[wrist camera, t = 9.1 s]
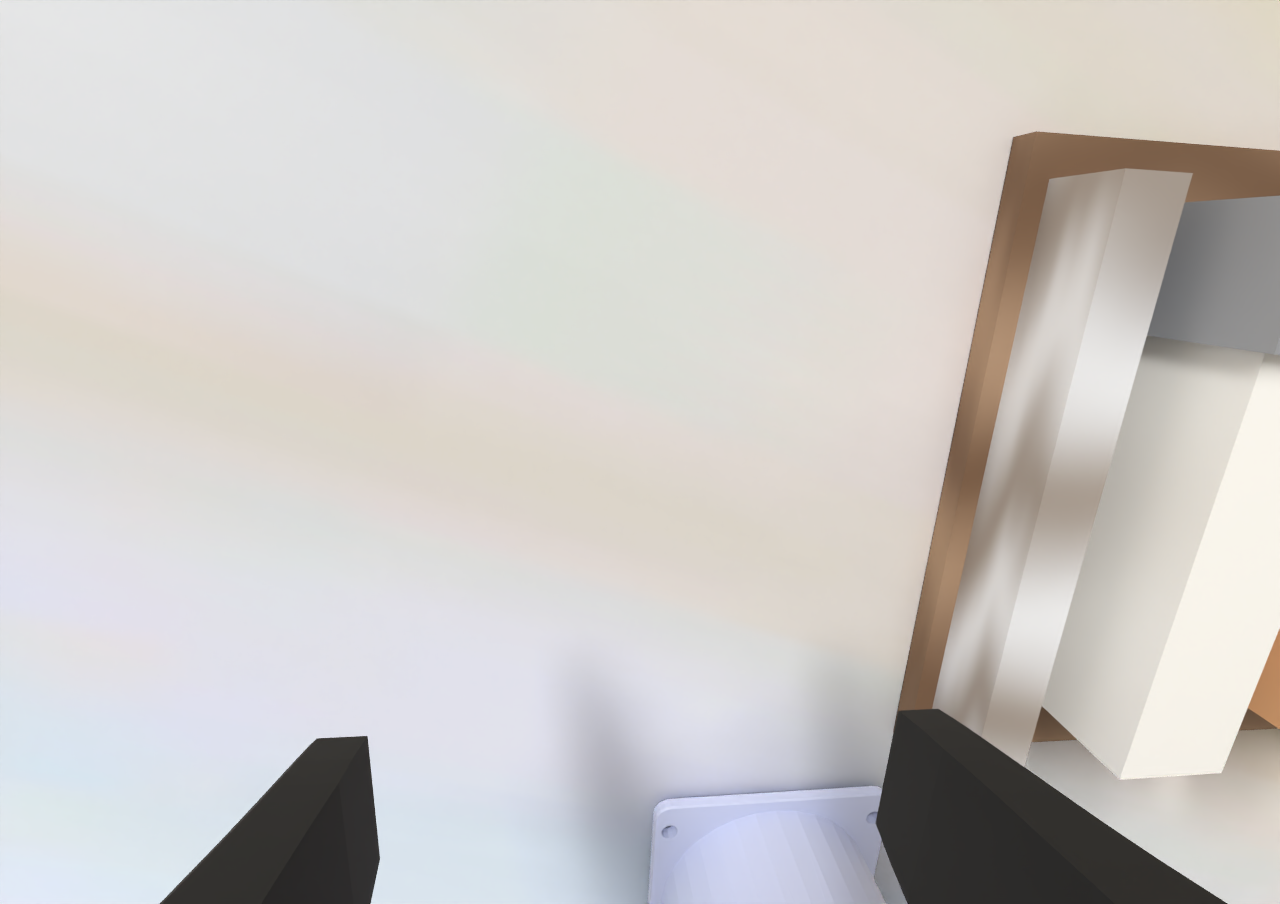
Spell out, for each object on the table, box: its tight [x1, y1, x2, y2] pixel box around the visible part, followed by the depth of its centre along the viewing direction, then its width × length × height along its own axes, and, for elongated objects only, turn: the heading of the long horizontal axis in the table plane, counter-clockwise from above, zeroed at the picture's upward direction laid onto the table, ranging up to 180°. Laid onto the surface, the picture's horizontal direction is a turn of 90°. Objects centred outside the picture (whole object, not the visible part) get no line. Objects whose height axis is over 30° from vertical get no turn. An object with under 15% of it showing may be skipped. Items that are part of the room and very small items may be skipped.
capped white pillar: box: [1042, 196, 1280, 780], centre depth 16 cm, size 14×4×4 cm, turn 177°
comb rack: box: [894, 132, 1280, 767], centre depth 18 cm, size 18×16×3 cm
